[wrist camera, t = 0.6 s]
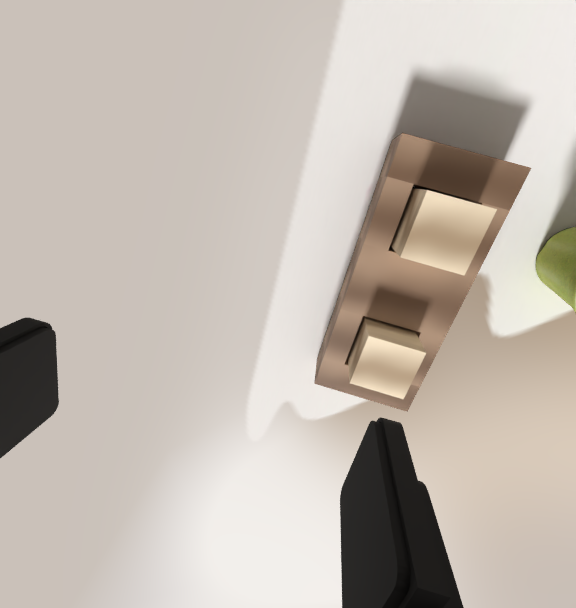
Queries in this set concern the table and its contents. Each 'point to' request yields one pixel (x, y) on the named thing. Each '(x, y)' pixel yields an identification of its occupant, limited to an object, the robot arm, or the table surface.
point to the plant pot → (559, 265)
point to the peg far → (384, 357)
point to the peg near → (441, 230)
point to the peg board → (405, 273)
